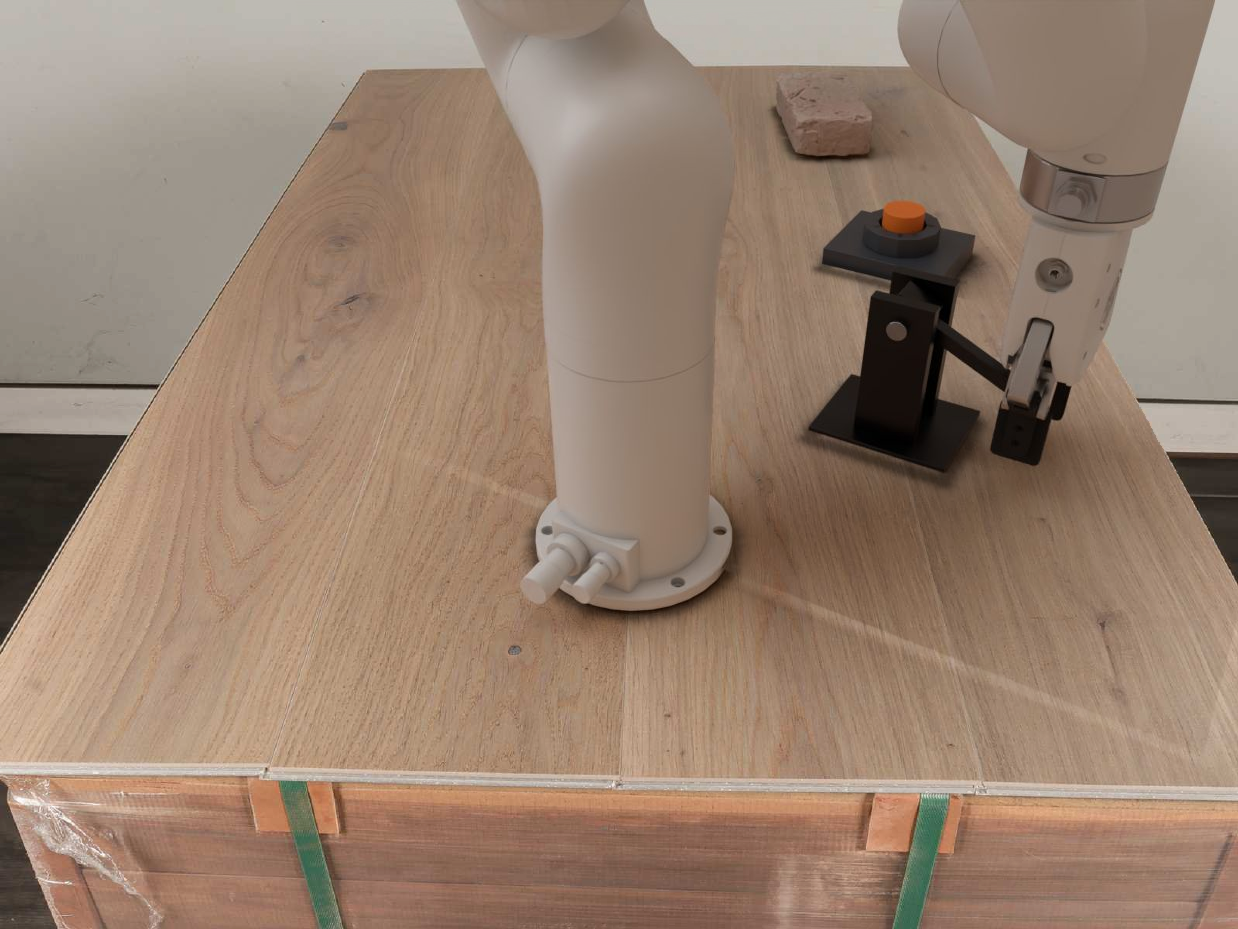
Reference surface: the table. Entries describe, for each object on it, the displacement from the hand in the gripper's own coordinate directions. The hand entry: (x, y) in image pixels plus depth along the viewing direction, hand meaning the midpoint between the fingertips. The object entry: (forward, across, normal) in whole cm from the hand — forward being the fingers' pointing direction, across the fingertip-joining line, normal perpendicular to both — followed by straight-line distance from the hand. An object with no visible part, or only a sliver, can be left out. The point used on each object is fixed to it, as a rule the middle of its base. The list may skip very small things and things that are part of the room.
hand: (1027, 432), depth 75 cm
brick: (+3, +51, +37) cm, 63 cm away
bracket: (+3, 0, +9) cm, 10 cm away
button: (0, +25, +18) cm, 31 cm away
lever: (-4, 0, +5) cm, 7 cm away
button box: (+3, +25, +18) cm, 31 cm away
